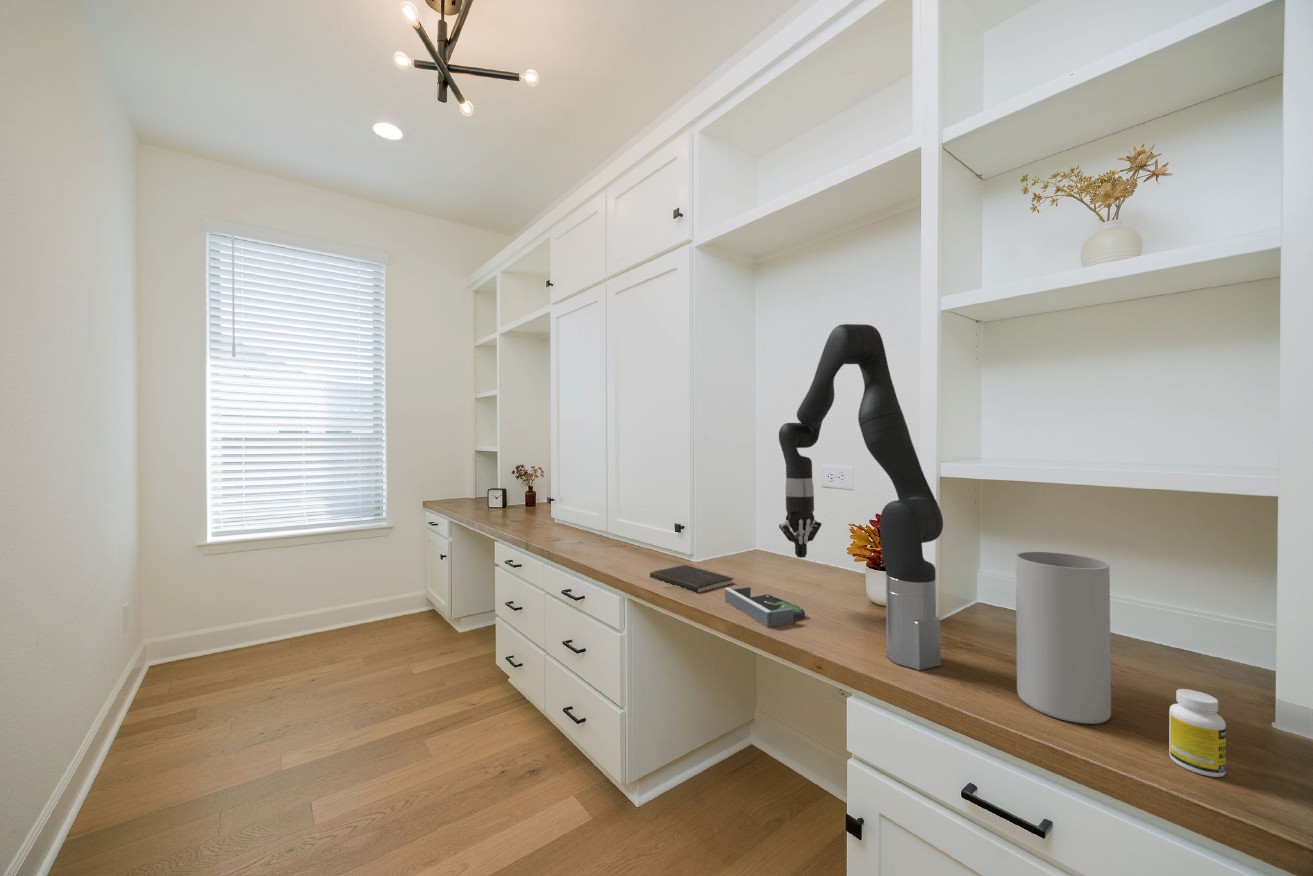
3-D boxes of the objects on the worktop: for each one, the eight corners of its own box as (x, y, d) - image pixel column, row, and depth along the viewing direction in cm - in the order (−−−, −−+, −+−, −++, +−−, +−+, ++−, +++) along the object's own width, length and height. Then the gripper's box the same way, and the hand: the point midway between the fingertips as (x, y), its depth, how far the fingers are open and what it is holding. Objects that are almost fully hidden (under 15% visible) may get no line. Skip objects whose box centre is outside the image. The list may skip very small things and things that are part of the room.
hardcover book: (684, 571, 178) (684, 564, 178) (733, 585, 161) (733, 578, 161) (649, 579, 168) (649, 572, 168) (697, 595, 150) (697, 587, 150)
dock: (793, 623, 125) (793, 608, 125) (767, 627, 123) (767, 611, 123) (748, 598, 145) (748, 585, 145) (725, 601, 143) (725, 588, 143)
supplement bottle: (1230, 784, 66) (1229, 710, 66) (1171, 766, 70) (1170, 696, 70) (1222, 764, 70) (1221, 694, 70) (1167, 748, 74) (1166, 682, 74)
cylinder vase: (1023, 681, 95) (1021, 548, 95) (1112, 704, 86) (1110, 559, 86) (1011, 706, 86) (1009, 560, 86) (1109, 736, 77) (1107, 573, 77)
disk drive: (738, 609, 138) (775, 626, 125) (738, 599, 138) (775, 615, 125) (767, 603, 143) (806, 619, 130) (767, 593, 143) (805, 608, 130)
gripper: (787, 496, 133) (789, 562, 133) (828, 494, 138) (829, 557, 138) (771, 494, 141) (773, 556, 140) (810, 492, 145) (812, 552, 145)
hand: (801, 557), depth 139 cm, fingers closed
